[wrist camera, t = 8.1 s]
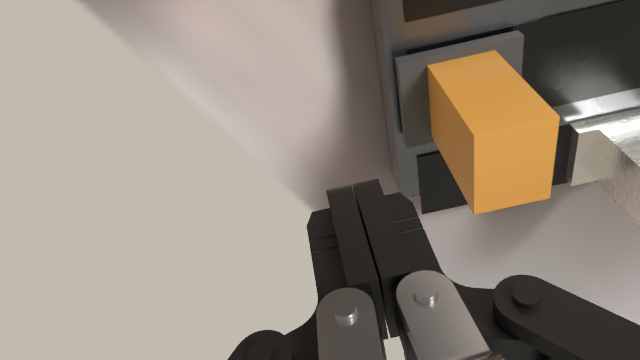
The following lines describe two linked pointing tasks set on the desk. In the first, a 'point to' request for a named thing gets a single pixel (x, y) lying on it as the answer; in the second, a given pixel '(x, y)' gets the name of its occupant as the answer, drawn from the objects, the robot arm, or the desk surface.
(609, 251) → the desk surface
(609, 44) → the panel
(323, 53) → the desk surface
